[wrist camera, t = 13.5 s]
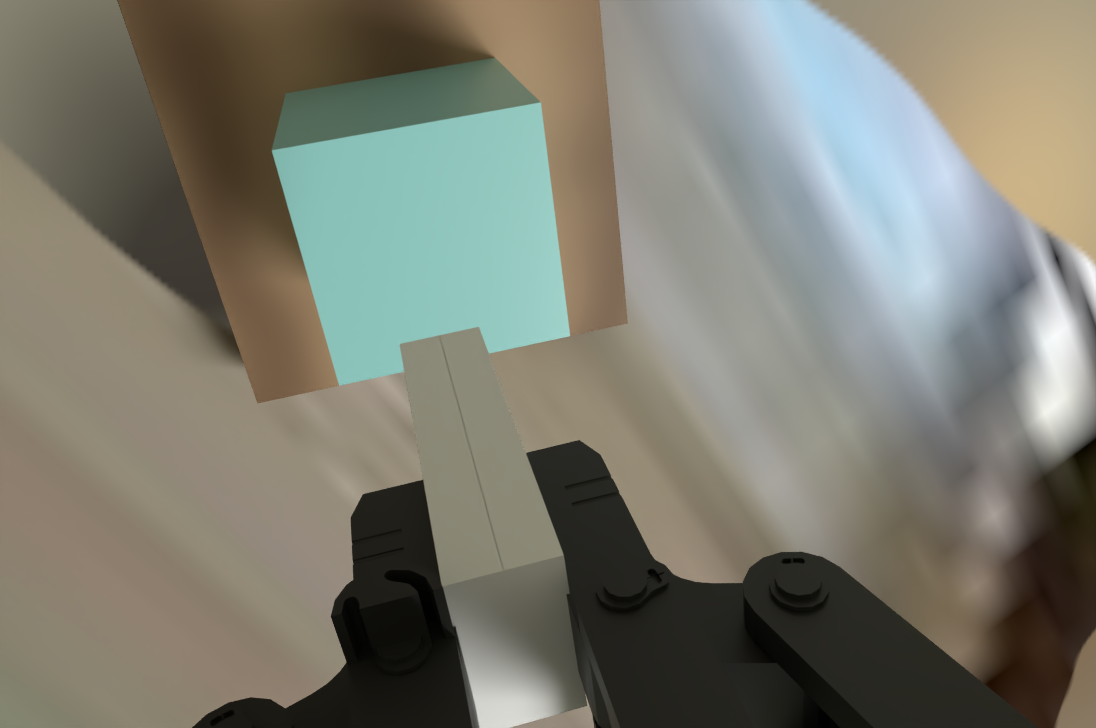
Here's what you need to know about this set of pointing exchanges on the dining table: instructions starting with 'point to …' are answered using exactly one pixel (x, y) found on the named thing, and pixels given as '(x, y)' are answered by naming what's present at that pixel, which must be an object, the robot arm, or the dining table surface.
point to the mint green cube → (423, 212)
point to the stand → (341, 57)
